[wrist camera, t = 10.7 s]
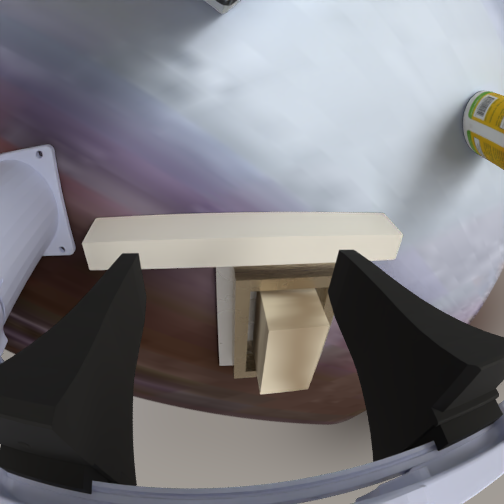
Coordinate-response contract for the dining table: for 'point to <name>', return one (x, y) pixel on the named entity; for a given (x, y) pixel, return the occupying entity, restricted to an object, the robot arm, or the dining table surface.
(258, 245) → the board
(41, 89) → the dining table surface
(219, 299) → the keeper
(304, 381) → the bar
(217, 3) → the tea box
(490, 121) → the supplement bottle
